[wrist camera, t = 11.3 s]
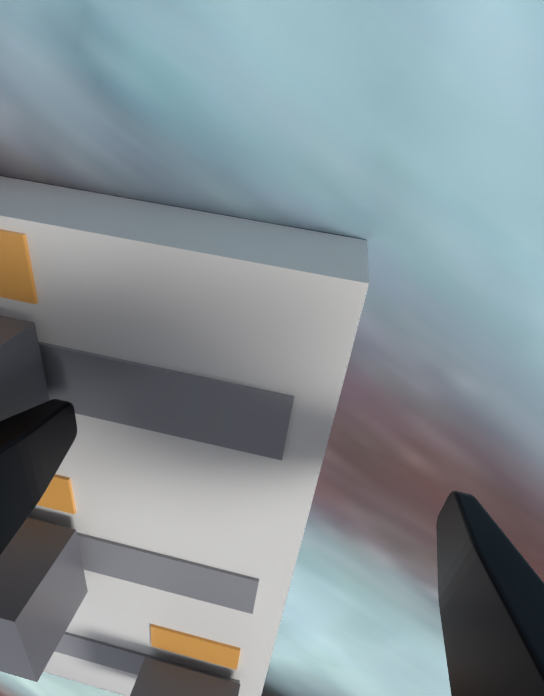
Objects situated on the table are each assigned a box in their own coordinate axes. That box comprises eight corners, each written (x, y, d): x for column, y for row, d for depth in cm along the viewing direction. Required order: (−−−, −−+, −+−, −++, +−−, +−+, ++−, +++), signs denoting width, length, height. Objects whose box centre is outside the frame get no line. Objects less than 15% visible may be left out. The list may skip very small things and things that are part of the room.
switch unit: (263, 661, 23) (251, 734, 20) (22, 595, 24) (-20, 656, 21) (367, 240, 11) (369, 285, 8) (-126, 154, 12) (-264, 168, 9)
